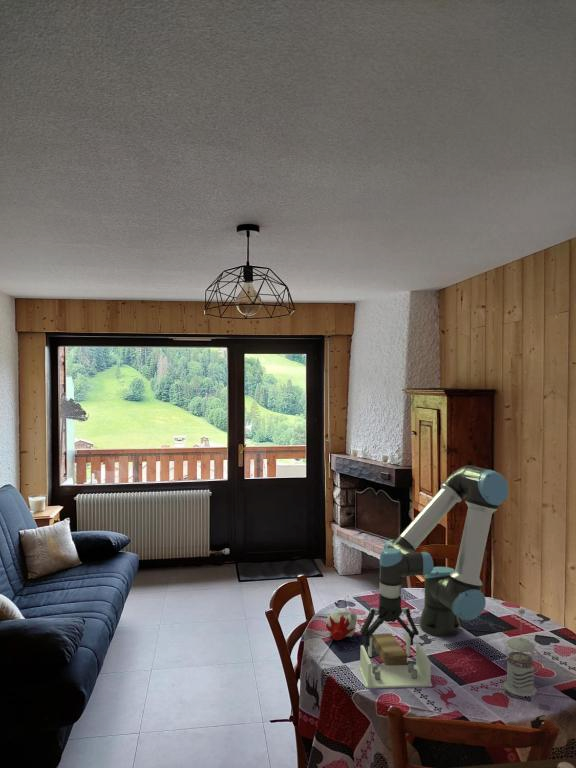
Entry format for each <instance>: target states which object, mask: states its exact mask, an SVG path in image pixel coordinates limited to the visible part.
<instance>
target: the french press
mask: <svg viewBox="0 0 576 768" xmlns="http://www.w3.org/2000/svg"><path fill="white" fill-rule="evenodd" d="M517 612H518V613H519V614H520V630H522V623H523V622H522V621H523V620H522V619H523V618H522V615H523V614H525V610H524V609H523V608H519V609H518V610H517ZM506 644H507V645H508V647H509V648H510V649H512V650H515V651H511V652H509V653H508V655H507V662H506V663H507V664H506V667H507V668H506V680H505V681H504V682H503V688H504V689H505V690H507V692H509V693H511V694H513V695H516V696H520V697H525V696H527V697H528V696H529V697H532V696H531V695H534V694H535V693H536V690H537V688H536V687H535V686H534V683H535V682H534V677H535V674H536V673H537V672H539V671H540V670H541V669H542V665H543V656H542V654H541V652H539V650H537V649H536V646H535V645H534V643H533V642H531V641H530V640H528V639H526V638H523V637H513V638H510V639H507V641H506ZM530 652H531V654H532V655H533V654H535V652H536V653H537V655H538V657H540V658H541V659H538V661H537V664H536V666H535V665H534V663H533V661H534V659H533V657H532V656H531V655H530V654H527V653H530ZM540 661H541V663H540ZM539 663H540V666H539ZM538 666H539V667H538ZM537 667H538V669H537ZM535 669H537V670H535ZM536 694H537V693H536ZM536 694H535V695H536ZM535 695H534V696H535Z"/></svg>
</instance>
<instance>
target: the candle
mask: <svg viewBox="0 0 576 768" xmlns="http://www.w3.org/2000/svg"><path fill="white" fill-rule="evenodd" d="M357 618H358V616H357V614H356V613H355V612H354V611H351V610H348V611H346V610H337V611H334V612H333V613H331V614H330V615H328V617H327V619H326V623H325V629H327V632H328V633H329V635H330V637H332V639H333V640H334V641H340V640H343V639H346V638H347V637H349V638H352V637H353V636H354V633H355V631H356V626H357V621H358V619H357Z"/></svg>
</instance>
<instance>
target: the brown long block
mask: <svg viewBox="0 0 576 768" xmlns="http://www.w3.org/2000/svg"><path fill="white" fill-rule="evenodd" d="M372 647H374V649H375V651H376V652H377V654H378V655H379V657H380V659H381V661H382V662H383V663H384V666H389V665H408V655H407V653H406V651H404V649H403V648H402V647H401V645H400V644H399V642H398V641H397V639H396V638H395V636H394V635H393V634H392V633H391V632H389V633H373V634H372Z"/></svg>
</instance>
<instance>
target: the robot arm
mask: <svg viewBox="0 0 576 768" xmlns="http://www.w3.org/2000/svg"><path fill="white" fill-rule="evenodd" d="M508 484H509V483H508V481H507V479H506V478H505V476H503V475H502V474H501V473H500V472H497V471H495V470H492V469H487V468H483V467H478V466H476V465H465V466H462V467H460V468H458V469H456V470H455V471H453V472H452V473H451V474H450V475H449V476H448V477H446V478H445V479H444V481H443V482H442V483H440V489H439V490H438V492H436V494H435V495H434V496H433V497H431V499H430V500H429V501H428V503H427V504H426V505H425V506H424V507H423V508H422V509H421V510H420V512H419V513H418V514H417V515H416V517H414V519H412V520H411V522H410V523H409V525H407V527H406V528H405V529H404V530H403V532H401V533H400V535H399V536H398V537H397V538H395V539H390V540H389V539H388V540H387V541H386V542H385V544H384V546H383V549H382V550H381V551H380V555H379V561H378V563H379V590H378V591H379V595H378V598H379V600H378V608H374V607H373V606H370V607H369V613H368V614H367V616H366V618H365V621H364V622H363V625H362V627H361V628H360V631H359V632H360V635H361V636H362V637H365V638H364V639H365V646H366V647H367V655H368V657H369V658H372V657H373V654H372V653H373V634H375V632H376V631H377V629H378V628H379V627H380V626H381V625H382V624H383V623H384V622H385V623H389V622H391V623H395V622H396V621H397V622H398V623H399V624H400V625H401V627H402V628H403V629H404V631H406V633H405V634H406V635H405V653H406V655H407V657H411V646H413V645H414V638H415V636H419V634H420V633H419V631H418V629H417V627H416V624H415V623H414V620H413V617H412V616H411V610H410V608H409V607H408V606H405V607H402V596H401V595H402V578H404V577H412V576H424V578H423V579H424V606H423V608H422V611H421V614H420V618H419V627H420V629H421V630H422V631H424V632H426V634H427V633H428V634H430V635H433V636H437V637H438V636H439V637H452V636H456V635H458V634H459V633H460V630H461V627H460V626H461V624H460V620H459V618H460V619H462V620H465V621H471V620H472V621H473V620H475V619H477V617H480V616H481V615H482V613H483V611H484V610H485V608H486V605H487V604H486V603H487V602H486V601H487V600H486V597H485V595H484V593H483V592H482V589H483V582H482V580H481V579H480V575H481V570H482V567H483V565H482V564H483V560H484V554H485V550H486V546H487V541H488V535H489V531H490V526H491V522H492V521H491V520H492V516H493V514H494V513H495V512H496V511H498V508H499V505H502V504H503V503H504V501H506V500H507V498H508V496H509V485H508ZM463 500H464V502H465V504H466V505H467V512H466V516H465V521H464V526H463V531H462V536H461V540H460V541H461V542H460V545H459V550H458V554H457V561H456V565H455V569H454V568H452V567H448V566H434V559H433V557H432V556H431V554H430V553H429V552H428V551H427V552H426V551H424V552H422V551H420V552H417V551H415V550H416V549H417V548H418V547H419V546H420V545H421V543H422V542H423V541H424V540H425V539H426V538H427V537H428V535H429V534H430V533H431V532H432V531H433V530H434V529H435V528H436V526H437V525H438V524H439V523H440V522H441V520H442V519H443V518H444V517H445V516H446V515H447V514H448V513H449V511H451V509H452V508H453V507H454V506H455V504H457V503H461V502H462V501H463ZM377 614H378V616H377V617H376V619H375V620H374V617H375V616H376V615H377ZM402 614H404V615H405V616H406V618H407V621H408V623H409V625H410V626H411V629H412V630H411V629H410V628H409V626H408V625H407V624H406V623H405V622H404V620H403V619H402V618H401V615H402ZM372 622H373V623H372Z"/></svg>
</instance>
